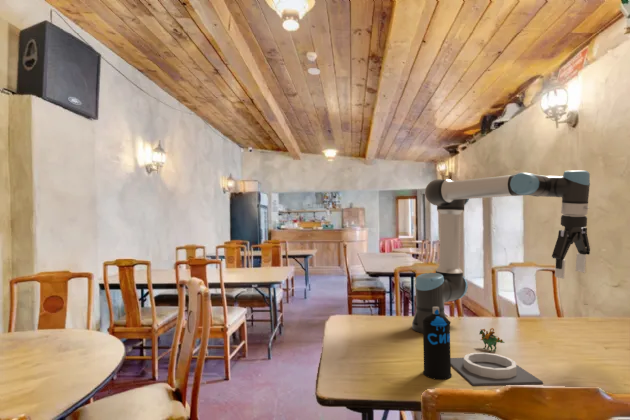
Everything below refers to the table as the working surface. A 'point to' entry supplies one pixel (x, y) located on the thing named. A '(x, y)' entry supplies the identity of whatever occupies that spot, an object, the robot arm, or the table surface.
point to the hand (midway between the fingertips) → (570, 274)
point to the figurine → (490, 339)
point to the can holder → (492, 370)
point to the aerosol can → (436, 346)
